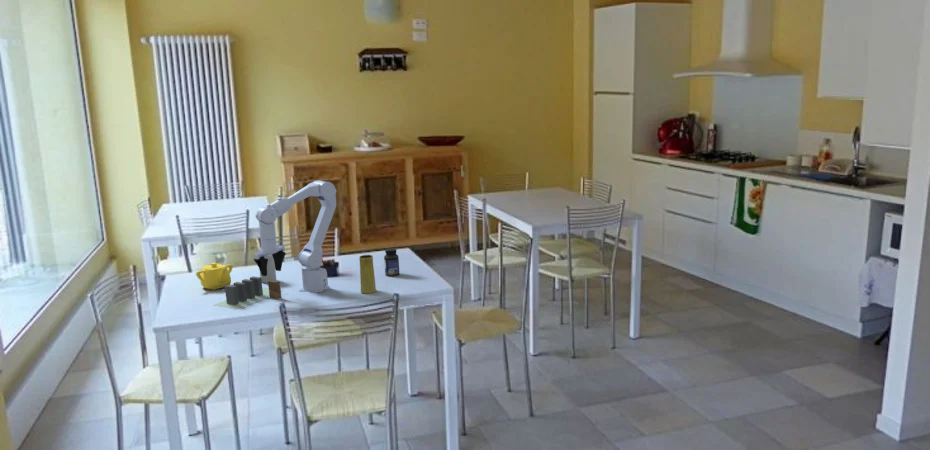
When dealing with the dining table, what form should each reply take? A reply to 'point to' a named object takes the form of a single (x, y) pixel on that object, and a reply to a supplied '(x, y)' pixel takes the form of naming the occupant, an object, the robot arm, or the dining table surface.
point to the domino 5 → (274, 289)
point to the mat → (224, 303)
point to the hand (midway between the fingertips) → (271, 273)
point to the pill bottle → (391, 262)
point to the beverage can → (269, 270)
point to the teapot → (215, 276)
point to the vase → (367, 274)
